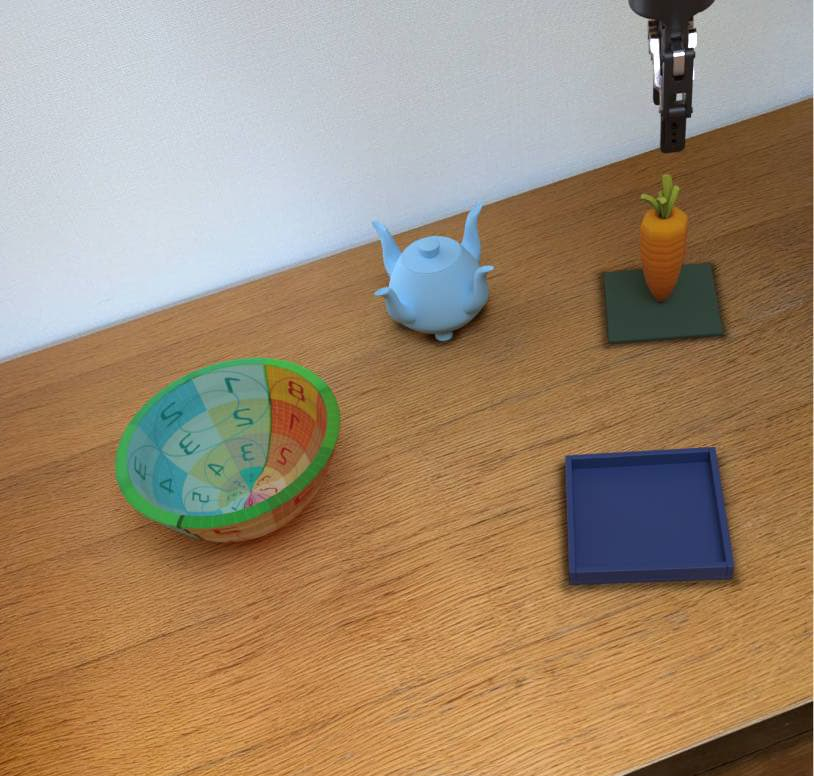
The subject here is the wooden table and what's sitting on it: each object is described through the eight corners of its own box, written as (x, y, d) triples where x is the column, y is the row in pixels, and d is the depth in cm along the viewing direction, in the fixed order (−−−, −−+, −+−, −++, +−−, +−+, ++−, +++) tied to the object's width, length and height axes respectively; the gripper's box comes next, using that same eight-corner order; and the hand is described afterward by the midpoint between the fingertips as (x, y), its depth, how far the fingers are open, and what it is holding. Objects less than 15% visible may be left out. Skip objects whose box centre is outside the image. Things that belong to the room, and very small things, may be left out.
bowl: (224, 406, 113) (195, 339, 105) (397, 449, 104) (379, 379, 96) (110, 555, 102) (68, 492, 94) (293, 617, 93) (263, 553, 85)
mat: (710, 265, 114) (710, 262, 113) (722, 335, 106) (723, 332, 106) (603, 275, 116) (603, 272, 115) (608, 344, 108) (608, 341, 108)
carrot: (667, 321, 108) (673, 202, 97) (629, 306, 111) (630, 188, 99) (693, 296, 110) (701, 176, 99) (654, 282, 113) (659, 163, 101)
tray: (713, 459, 96) (715, 446, 95) (732, 579, 88) (734, 566, 86) (565, 468, 99) (565, 455, 97) (569, 584, 90) (569, 572, 89)
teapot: (491, 273, 119) (483, 200, 112) (503, 345, 111) (494, 271, 103) (386, 290, 121) (370, 219, 113) (389, 363, 112) (373, 291, 105)
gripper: (732, -26, 77) (717, 163, 89) (711, -99, 86) (700, 82, 98) (633, -11, 78) (632, 172, 91) (623, -85, 87) (623, 92, 99)
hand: (668, 125), depth 94 cm, fingers open, 8 cm apart
